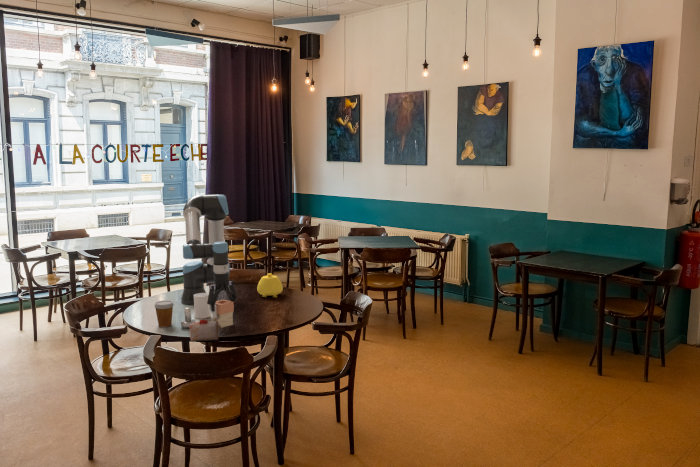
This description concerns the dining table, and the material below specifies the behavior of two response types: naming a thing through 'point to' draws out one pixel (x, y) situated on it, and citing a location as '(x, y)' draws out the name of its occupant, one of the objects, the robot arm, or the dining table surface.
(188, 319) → the hub
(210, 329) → the food item
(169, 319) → the disposable coffee cup
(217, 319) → the pedestal
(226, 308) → the collar
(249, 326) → the dining table surface
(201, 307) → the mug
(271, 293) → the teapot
